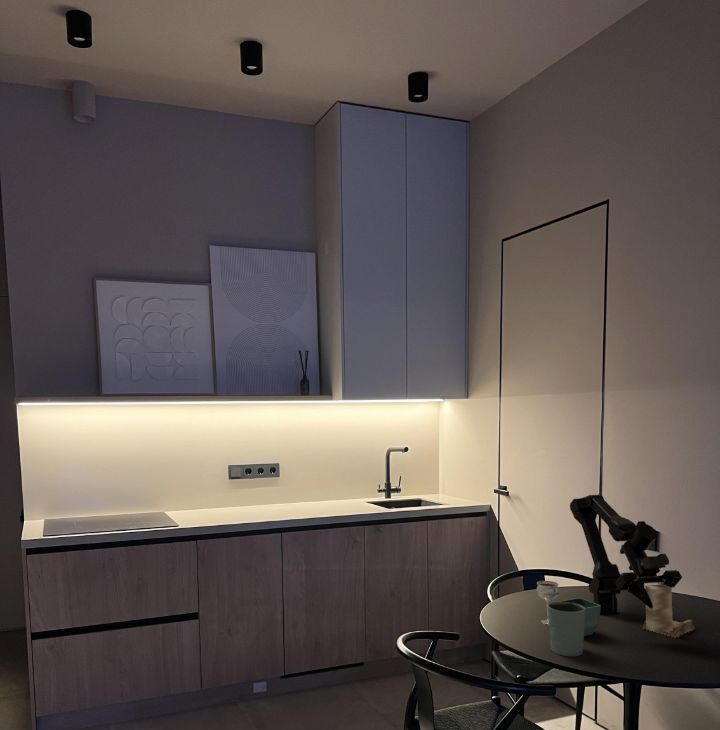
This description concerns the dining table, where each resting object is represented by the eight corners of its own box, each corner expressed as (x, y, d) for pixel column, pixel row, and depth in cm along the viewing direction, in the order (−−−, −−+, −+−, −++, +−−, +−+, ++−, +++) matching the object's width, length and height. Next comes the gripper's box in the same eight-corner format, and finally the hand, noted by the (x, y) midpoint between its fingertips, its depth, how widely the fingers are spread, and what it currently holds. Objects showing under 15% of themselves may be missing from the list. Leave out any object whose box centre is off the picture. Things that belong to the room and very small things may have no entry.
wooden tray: (675, 638, 194) (675, 629, 194) (642, 629, 202) (642, 620, 202) (694, 629, 201) (694, 621, 201) (662, 621, 209) (662, 612, 209)
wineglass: (535, 624, 206) (534, 585, 207) (539, 617, 212) (538, 579, 213) (557, 627, 203) (556, 587, 204) (561, 620, 209) (560, 582, 210)
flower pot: (578, 640, 192) (578, 609, 192) (558, 631, 200) (557, 600, 200) (602, 636, 195) (601, 605, 196) (581, 627, 203) (580, 597, 204)
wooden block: (653, 631, 188) (652, 588, 189) (646, 627, 191) (645, 585, 192) (672, 630, 189) (671, 587, 190) (664, 626, 193) (663, 584, 193)
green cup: (546, 654, 181) (545, 609, 182) (549, 641, 191) (549, 599, 191) (585, 659, 178) (584, 613, 178) (587, 646, 187) (586, 603, 188)
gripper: (620, 545, 194) (644, 594, 182) (677, 542, 197) (704, 590, 186) (606, 565, 201) (628, 614, 190) (661, 563, 204) (686, 610, 193)
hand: (661, 607), depth 189 cm, fingers closed on wooden block, 6 cm apart
